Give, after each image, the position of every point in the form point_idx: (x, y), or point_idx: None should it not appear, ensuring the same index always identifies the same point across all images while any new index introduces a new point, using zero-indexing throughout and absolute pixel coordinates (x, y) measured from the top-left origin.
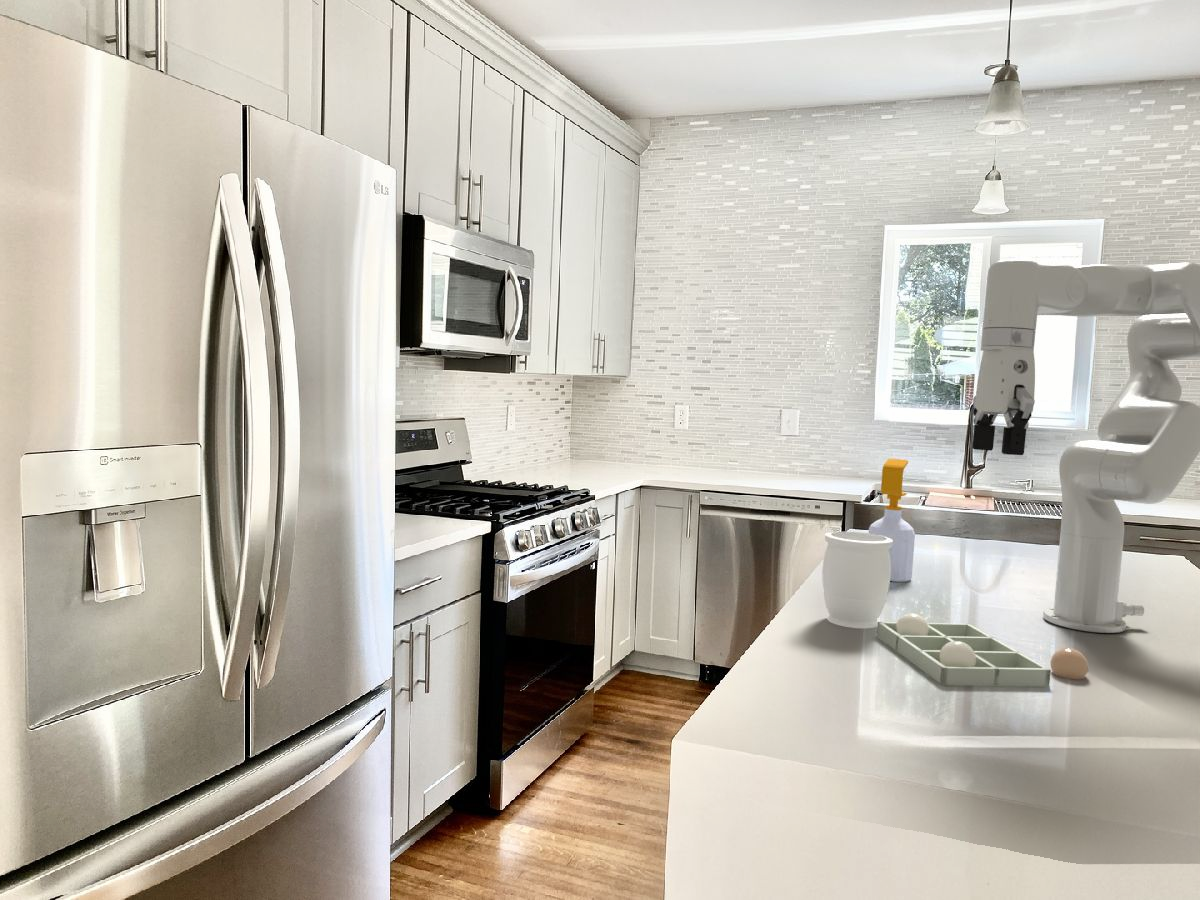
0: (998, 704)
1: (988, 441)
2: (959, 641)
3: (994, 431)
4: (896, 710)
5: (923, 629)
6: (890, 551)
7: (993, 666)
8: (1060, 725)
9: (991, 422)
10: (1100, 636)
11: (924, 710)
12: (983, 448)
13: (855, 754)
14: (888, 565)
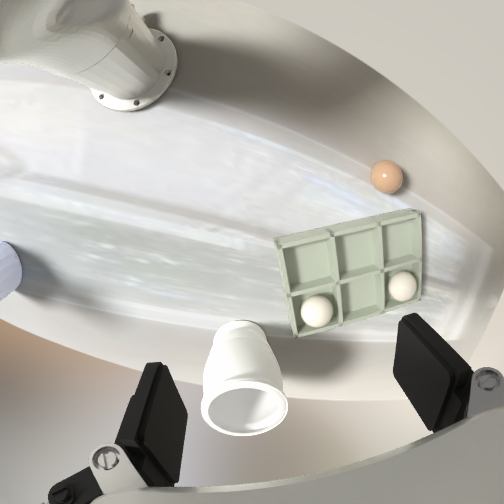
0: (429, 256)
1: (167, 401)
2: (409, 292)
3: (149, 421)
4: (435, 322)
5: (331, 304)
6: (2, 283)
7: (417, 260)
8: (457, 226)
9: (133, 464)
10: (188, 64)
11: (436, 306)
12: (176, 393)
13: (470, 339)
14: (264, 364)
